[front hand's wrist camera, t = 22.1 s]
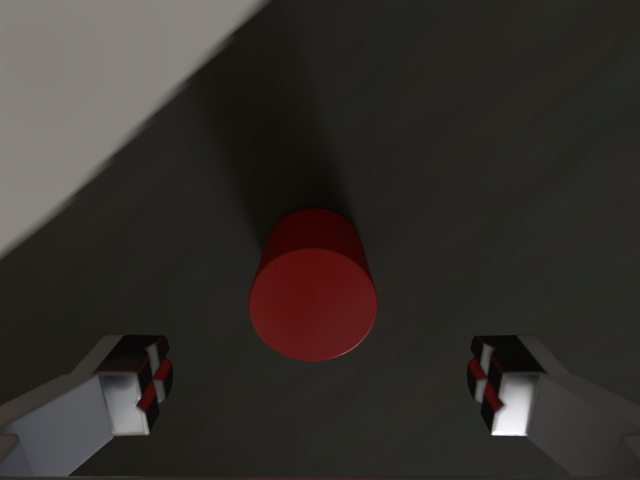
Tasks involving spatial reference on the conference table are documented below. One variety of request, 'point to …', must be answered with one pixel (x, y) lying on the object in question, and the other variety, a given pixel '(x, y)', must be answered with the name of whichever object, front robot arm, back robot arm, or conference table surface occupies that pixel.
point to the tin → (313, 287)
